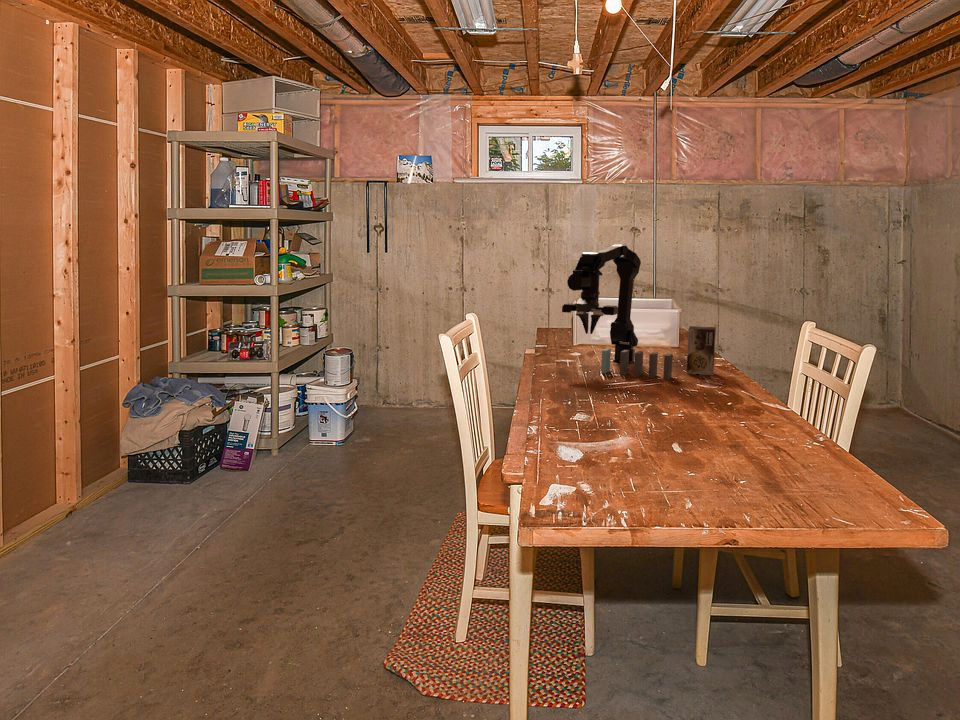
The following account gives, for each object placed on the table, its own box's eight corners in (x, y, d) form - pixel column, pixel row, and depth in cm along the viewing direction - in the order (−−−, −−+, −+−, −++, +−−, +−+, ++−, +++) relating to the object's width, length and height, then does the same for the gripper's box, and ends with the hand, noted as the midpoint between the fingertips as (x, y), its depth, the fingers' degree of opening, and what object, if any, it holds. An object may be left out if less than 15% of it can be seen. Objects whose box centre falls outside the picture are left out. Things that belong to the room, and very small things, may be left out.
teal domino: (601, 373, 268) (601, 350, 267) (605, 370, 273) (606, 348, 271) (605, 373, 268) (606, 350, 266) (609, 371, 272) (610, 348, 271)
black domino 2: (619, 374, 265) (620, 351, 264) (623, 372, 270) (624, 349, 268) (624, 375, 265) (625, 352, 263) (628, 372, 269) (629, 350, 268)
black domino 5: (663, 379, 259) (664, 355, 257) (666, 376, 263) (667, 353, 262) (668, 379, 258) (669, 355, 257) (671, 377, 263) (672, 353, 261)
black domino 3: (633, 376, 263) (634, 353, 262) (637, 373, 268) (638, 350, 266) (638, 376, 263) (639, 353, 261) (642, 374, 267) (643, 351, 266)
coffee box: (713, 372, 271) (716, 326, 268) (713, 376, 265) (716, 329, 262) (687, 370, 274) (689, 325, 271) (685, 374, 268) (688, 327, 265)
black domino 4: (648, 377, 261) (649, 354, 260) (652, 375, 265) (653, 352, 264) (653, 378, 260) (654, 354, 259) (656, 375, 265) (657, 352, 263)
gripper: (556, 289, 265) (555, 334, 268) (609, 292, 257) (608, 338, 260) (568, 287, 275) (566, 330, 277) (619, 289, 267) (617, 334, 269)
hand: (589, 333), depth 271 cm, fingers closed
